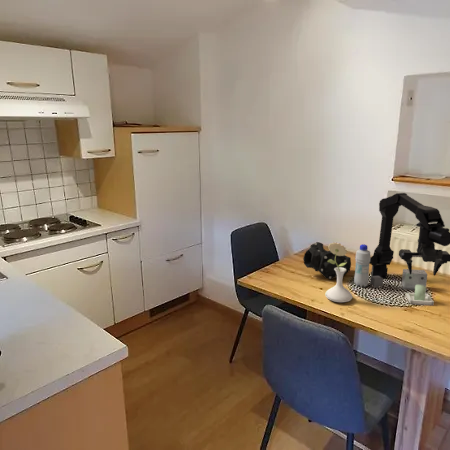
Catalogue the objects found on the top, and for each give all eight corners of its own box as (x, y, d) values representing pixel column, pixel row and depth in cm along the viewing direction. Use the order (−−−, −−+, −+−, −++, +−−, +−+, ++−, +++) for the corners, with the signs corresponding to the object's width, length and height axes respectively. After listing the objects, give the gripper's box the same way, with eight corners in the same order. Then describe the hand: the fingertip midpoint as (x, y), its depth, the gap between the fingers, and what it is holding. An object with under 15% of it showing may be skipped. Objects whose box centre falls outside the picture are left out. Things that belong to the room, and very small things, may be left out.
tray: (410, 304, 163) (410, 300, 162) (405, 295, 170) (405, 292, 170) (433, 305, 161) (433, 302, 161) (427, 297, 169) (428, 293, 168)
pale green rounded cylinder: (415, 301, 164) (416, 288, 163) (412, 297, 168) (414, 284, 166) (425, 301, 163) (427, 288, 162) (422, 297, 167) (424, 284, 166)
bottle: (361, 289, 178) (364, 247, 173) (350, 284, 184) (353, 243, 179) (371, 286, 181) (375, 245, 176) (360, 281, 187) (363, 241, 182)
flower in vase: (358, 300, 167) (362, 245, 161) (339, 307, 161) (343, 250, 155) (334, 290, 178) (337, 237, 171) (316, 296, 172) (319, 242, 166)
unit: (402, 289, 177) (404, 273, 175) (399, 284, 182) (401, 268, 180) (427, 291, 175) (429, 274, 173) (423, 286, 180) (425, 269, 178)
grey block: (374, 287, 180) (374, 279, 179) (370, 284, 184) (370, 276, 183) (382, 287, 180) (383, 279, 179) (378, 283, 184) (379, 275, 183)
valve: (329, 240, 216) (360, 256, 187) (322, 265, 218) (351, 284, 190) (294, 233, 210) (320, 248, 181) (287, 259, 212) (312, 278, 184)
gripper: (406, 243, 153) (403, 280, 157) (458, 245, 149) (453, 283, 153) (400, 236, 164) (396, 270, 167) (448, 237, 160) (444, 273, 164)
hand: (422, 274), depth 163 cm, fingers open, 9 cm apart
